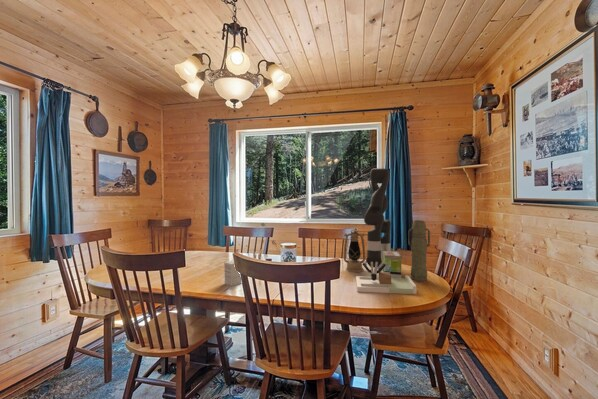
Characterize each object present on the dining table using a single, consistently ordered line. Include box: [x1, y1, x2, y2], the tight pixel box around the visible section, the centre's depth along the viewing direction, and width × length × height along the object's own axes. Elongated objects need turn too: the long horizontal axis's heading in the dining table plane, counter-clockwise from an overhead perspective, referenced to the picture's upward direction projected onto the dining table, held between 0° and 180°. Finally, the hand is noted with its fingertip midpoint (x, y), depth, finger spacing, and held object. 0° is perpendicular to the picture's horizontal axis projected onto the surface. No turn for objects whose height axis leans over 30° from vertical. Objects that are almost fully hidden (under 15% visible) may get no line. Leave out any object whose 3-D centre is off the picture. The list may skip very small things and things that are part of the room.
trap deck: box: [355, 275, 418, 295], centre depth 162 cm, size 20×30×4 cm
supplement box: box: [223, 260, 242, 287], centre depth 170 cm, size 7×7×13 cm
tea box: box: [382, 250, 403, 278], centre depth 182 cm, size 15×10×15 cm, turn 168°
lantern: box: [343, 225, 366, 273], centre depth 200 cm, size 14×12×30 cm
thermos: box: [407, 219, 431, 283], centre depth 175 cm, size 9×12×35 cm
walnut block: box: [378, 271, 391, 284], centre depth 162 cm, size 6×6×5 cm
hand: (373, 280), depth 163 cm, fingers closed
